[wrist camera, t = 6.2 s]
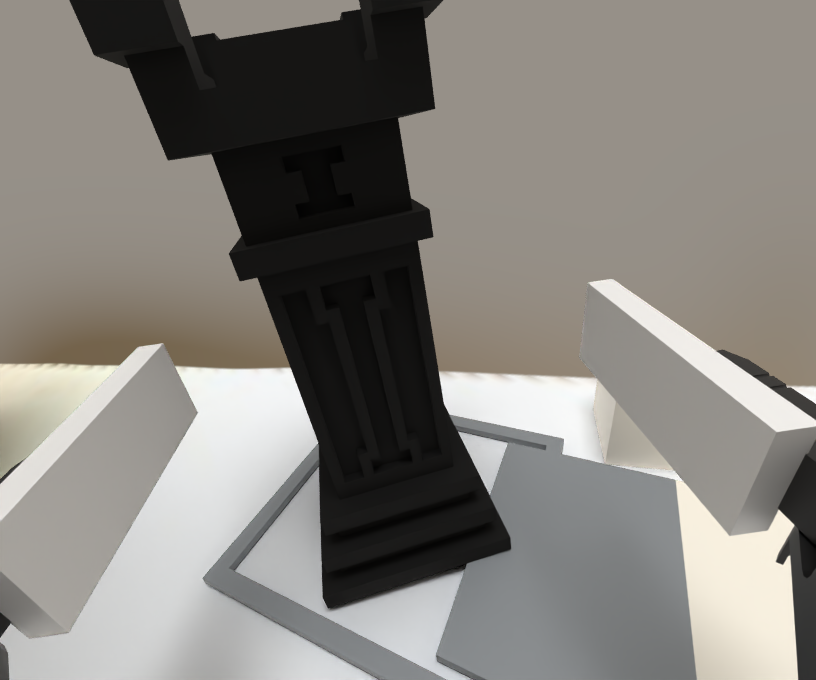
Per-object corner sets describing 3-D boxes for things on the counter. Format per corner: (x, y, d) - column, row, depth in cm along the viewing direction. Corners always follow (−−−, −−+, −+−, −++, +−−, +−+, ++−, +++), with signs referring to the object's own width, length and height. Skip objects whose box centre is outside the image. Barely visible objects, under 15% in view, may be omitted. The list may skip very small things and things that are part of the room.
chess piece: (323, 467, 23) (167, 56, 14) (453, 430, 24) (391, 18, 15) (328, 608, 16) (20, -30, 7) (511, 549, 17) (463, -91, 8)
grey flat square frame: (205, 583, 18) (202, 578, 18) (360, 400, 28) (359, 395, 28) (505, 749, 12) (505, 744, 12) (563, 444, 23) (563, 438, 22)
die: (604, 465, 21) (616, 395, 19) (592, 409, 25) (601, 346, 23) (703, 474, 20) (729, 401, 18) (675, 414, 24) (694, 348, 21)
